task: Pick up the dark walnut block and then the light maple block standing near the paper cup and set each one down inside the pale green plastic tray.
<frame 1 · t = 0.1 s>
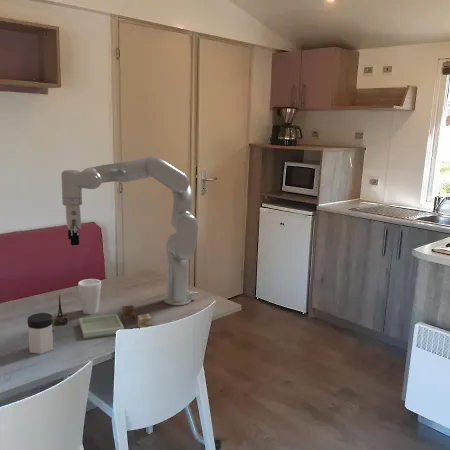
hand: (73, 242, 197), 31 cm above the table, tool pointing down, fingers open, 9 cm apart
jar: (41, 349, 172), on the table
foam cup: (90, 311, 206), on the table
maple block: (144, 327, 192), on the table
walnut block: (128, 317, 201), on the table
tray: (101, 329, 189), on the table
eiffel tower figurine: (60, 324, 194), on the table
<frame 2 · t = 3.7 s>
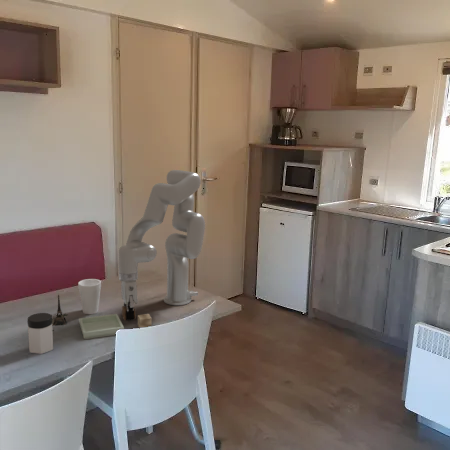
hand: (128, 316, 201), 0 cm above the table, tool pointing down, fingers closed on walnut block, 4 cm apart
walnut block: (128, 317, 201), on the table, touching gripper
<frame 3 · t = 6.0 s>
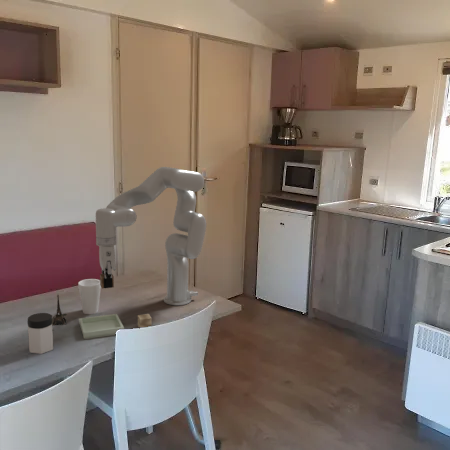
hand: (106, 285, 189), 17 cm above the table, tool pointing down, fingers closed on walnut block, 4 cm apart
walnut block: (106, 286, 189), point 17 cm above the table, touching gripper
when the fingers open (3 cm above the table, at t = 8.4 s): walnut block drops 2 cm, resting on tray.
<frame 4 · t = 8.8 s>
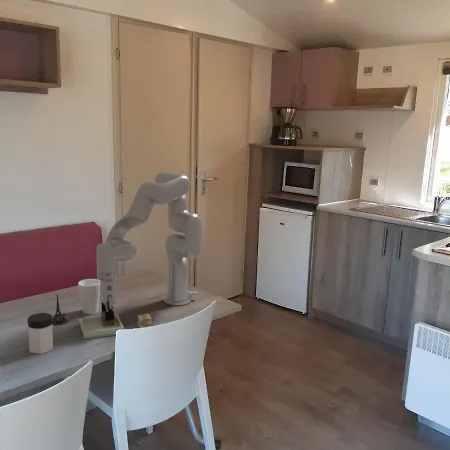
hand: (107, 315, 192), 4 cm above the table, tool pointing down, fingers open, 9 cm apart
walnut block: (107, 323, 192), point 1 cm above the table, touching tray
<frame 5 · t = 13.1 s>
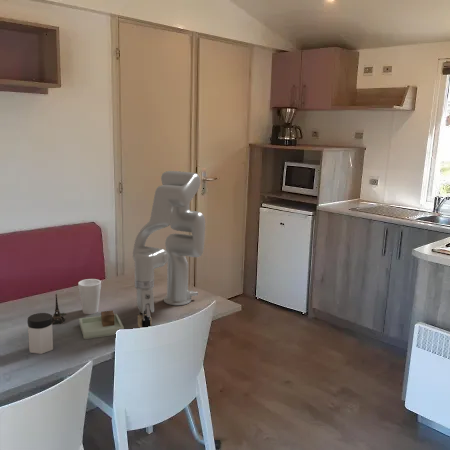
hand: (144, 326, 192), 0 cm above the table, tool pointing down, fingers closed on maple block, 4 cm apart
maple block: (144, 327, 192), on the table, touching gripper
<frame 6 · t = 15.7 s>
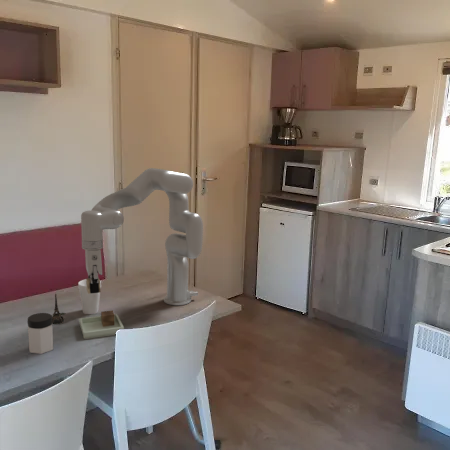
hand: (93, 290, 182), 17 cm above the table, tool pointing down, fingers closed on maple block, 4 cm apart
maple block: (93, 291, 182), point 17 cm above the table, touching gripper
when the fingers open (3 cm above the table, at t = 18.2 s): maple block drops 2 cm, resting on tray.
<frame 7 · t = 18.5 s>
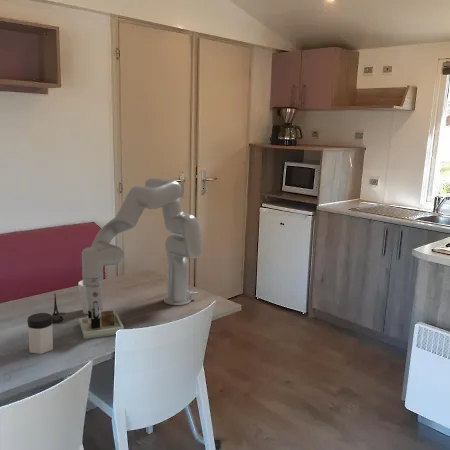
hand: (94, 323, 185), 4 cm above the table, tool pointing down, fingers open, 7 cm apart
maple block: (94, 330, 186), point 1 cm above the table, touching tray
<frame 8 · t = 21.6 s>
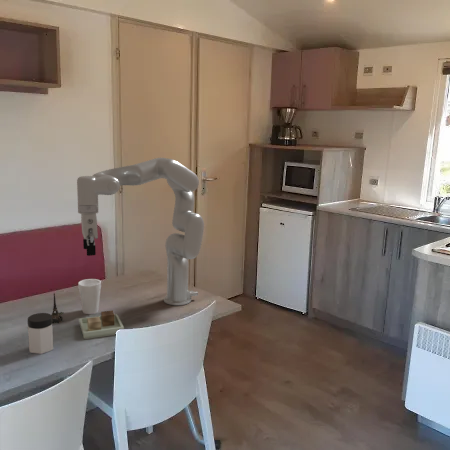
hand: (89, 251, 186), 30 cm above the table, tool pointing down, fingers open, 9 cm apart
at the end: walnut block inside the target area on the tray (3.9 cm from its centre), point 0.8 cm above the tray's base; maple block inside the target area on the tray (3.8 cm from its centre), point 0.8 cm above the tray's base; the gripper is holding nothing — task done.
